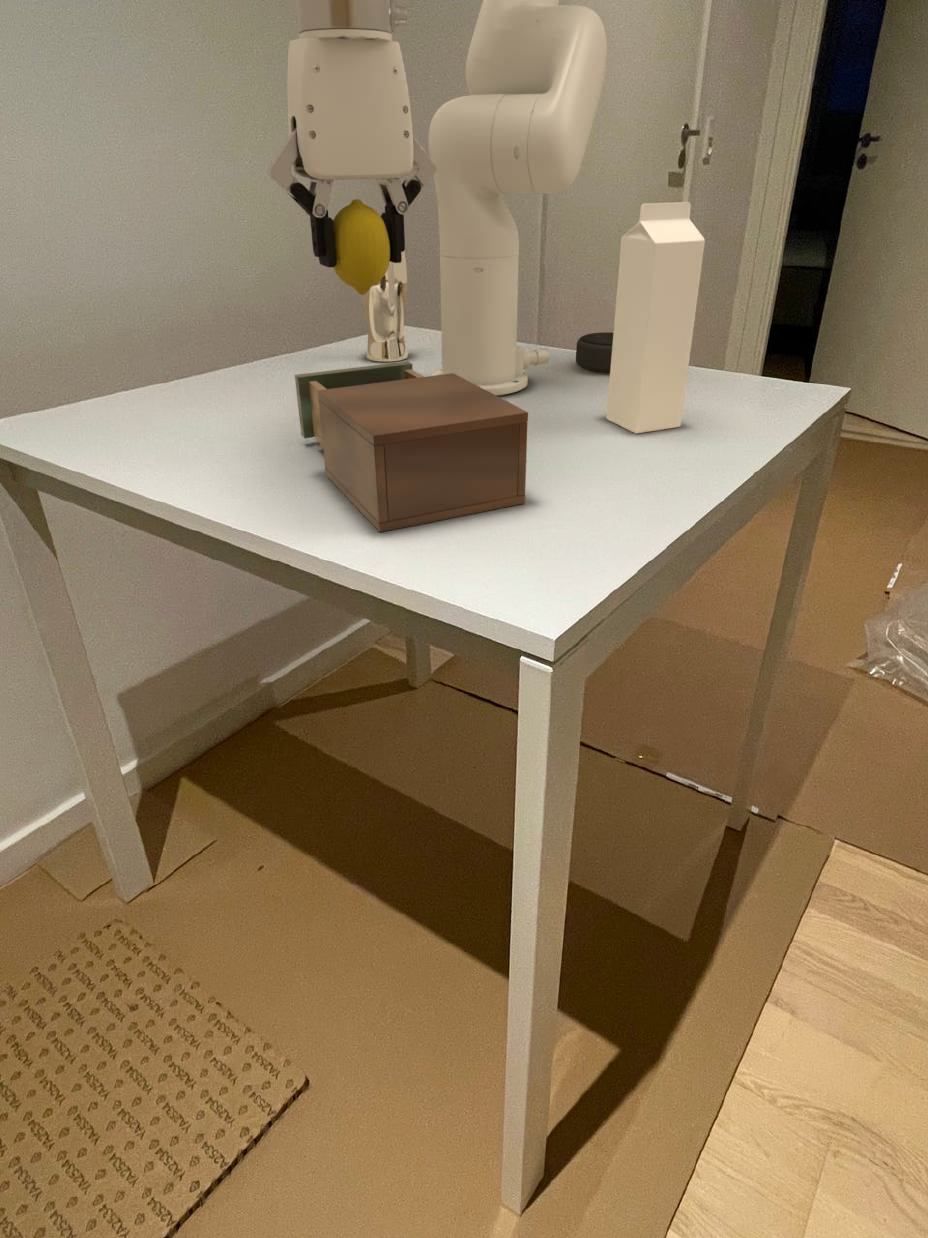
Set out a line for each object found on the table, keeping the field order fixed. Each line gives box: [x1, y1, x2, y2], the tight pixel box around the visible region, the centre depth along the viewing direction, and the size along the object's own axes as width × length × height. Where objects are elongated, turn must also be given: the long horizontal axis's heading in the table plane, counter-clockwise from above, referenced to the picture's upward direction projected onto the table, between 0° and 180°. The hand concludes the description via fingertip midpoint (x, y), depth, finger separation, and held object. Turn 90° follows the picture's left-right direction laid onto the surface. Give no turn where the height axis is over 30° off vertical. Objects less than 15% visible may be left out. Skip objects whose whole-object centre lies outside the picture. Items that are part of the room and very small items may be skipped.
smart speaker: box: [575, 331, 614, 375], centre depth 112 cm, size 9×9×4 cm
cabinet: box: [318, 373, 529, 533], centre depth 72 cm, size 15×14×8 cm
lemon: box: [332, 198, 390, 295], centre depth 74 cm, size 6×6×8 cm
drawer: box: [294, 361, 425, 447], centre depth 83 cm, size 21×12×6 cm, turn 26°
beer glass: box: [359, 249, 409, 363], centre depth 115 cm, size 7×7×15 cm
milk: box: [606, 201, 706, 434], centre depth 85 cm, size 6×6×22 cm
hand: (360, 261), depth 75 cm, fingers closed on lemon, 5 cm apart
